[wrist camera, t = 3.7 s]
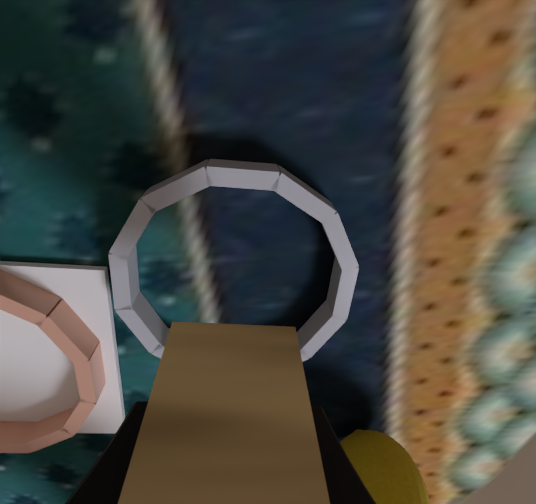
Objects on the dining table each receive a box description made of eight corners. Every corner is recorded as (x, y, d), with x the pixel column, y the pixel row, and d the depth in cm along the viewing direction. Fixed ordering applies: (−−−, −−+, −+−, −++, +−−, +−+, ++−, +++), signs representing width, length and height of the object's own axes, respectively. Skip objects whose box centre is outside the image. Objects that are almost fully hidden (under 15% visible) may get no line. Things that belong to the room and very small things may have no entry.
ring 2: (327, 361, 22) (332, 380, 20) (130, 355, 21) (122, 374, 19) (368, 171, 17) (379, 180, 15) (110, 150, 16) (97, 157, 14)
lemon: (370, 463, 26) (417, 608, 19) (304, 446, 25) (327, 595, 18) (413, 414, 24) (483, 556, 17) (342, 393, 23) (386, 538, 16)
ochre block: (281, 411, 14) (312, 699, 7) (174, 409, 13) (110, 711, 7) (295, 326, 12) (351, 610, 6) (172, 321, 11) (82, 619, 5)
